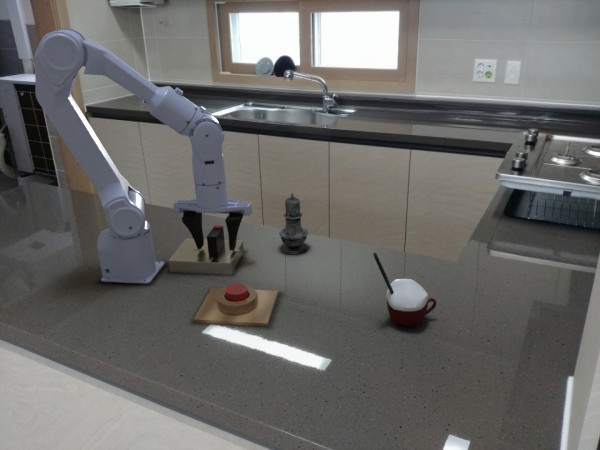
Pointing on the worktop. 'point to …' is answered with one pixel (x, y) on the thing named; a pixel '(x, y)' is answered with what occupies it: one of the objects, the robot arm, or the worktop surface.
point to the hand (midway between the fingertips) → (216, 247)
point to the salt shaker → (293, 228)
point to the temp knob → (215, 240)
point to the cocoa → (406, 300)
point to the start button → (236, 292)
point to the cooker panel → (205, 258)
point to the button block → (237, 308)
